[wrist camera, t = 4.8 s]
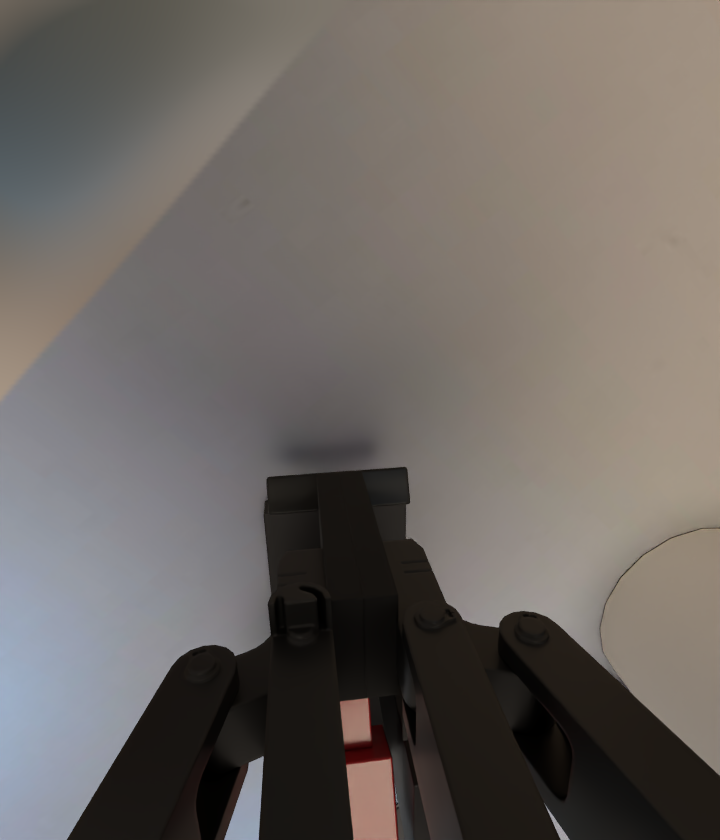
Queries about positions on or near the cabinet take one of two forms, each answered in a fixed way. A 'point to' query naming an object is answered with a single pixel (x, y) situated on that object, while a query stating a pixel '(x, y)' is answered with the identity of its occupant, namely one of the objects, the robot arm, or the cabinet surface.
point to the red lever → (361, 740)
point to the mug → (672, 637)
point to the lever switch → (384, 710)
